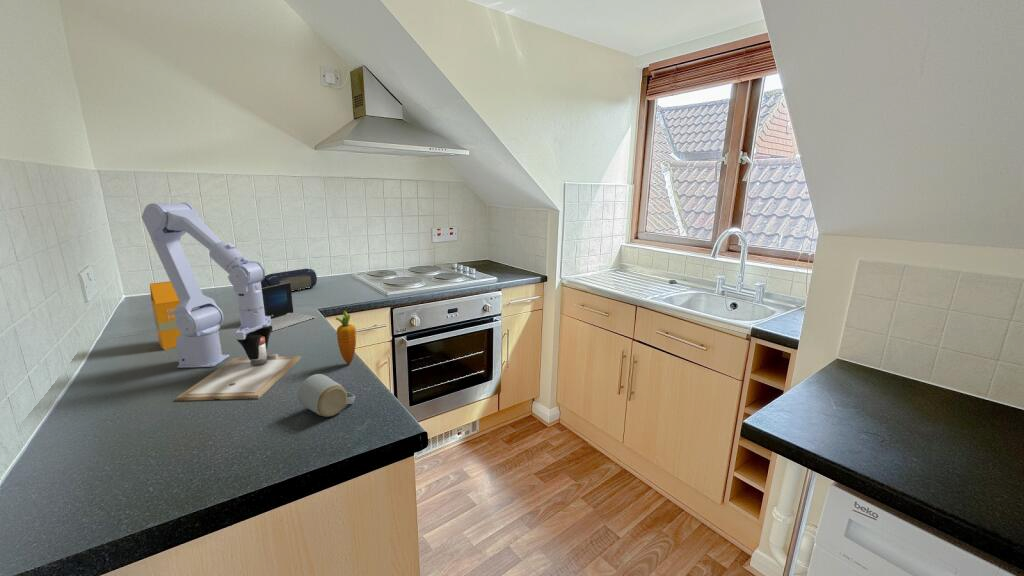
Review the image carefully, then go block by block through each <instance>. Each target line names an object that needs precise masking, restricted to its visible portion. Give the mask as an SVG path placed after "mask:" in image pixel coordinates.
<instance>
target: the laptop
mask: <svg viewBox="0 0 1024 576" xmlns="http://www.w3.org/2000/svg"><path fill="white" fill-rule="evenodd" d="M262 296H263V304H264V311H265V316H270V317H271V323H270V324H271V325H270V326H272V328H273V329H272V331H271V332H276V331H278V329H279V330H282V329H285V328H288V326H289V327H291V326H290V325H292V326H294V325H293V324H295V325H297V324H296V323H298V324H300V323H299V322H301V323H303V322H302V321H304V322H307V321H310V320H309V319H311V320H312V318H314V319H316V318H317V316H313V315H308V314H307V315H306V314H302V313H301V314H302V315H299V316H298V315H297V314H298V313H297V312H294V305H293V298H292V297H293V296H292V292H291V285H290V282H289V283H284V284H280V285H275V286H270V287H265V288H262ZM292 313H295V314H296V315H297V316H298V317H297V316H295V317H294V315H293V316H290V315H289V314H292ZM287 315H288V316H287ZM303 315H304V316H303ZM286 316H287V317H286ZM300 316H301V318H300ZM281 318H282V319H281ZM297 318H298V319H297ZM306 320H307V321H306ZM284 327H285V328H284ZM281 328H282V329H281ZM275 330H276V331H275Z"/></svg>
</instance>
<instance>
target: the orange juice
mask: <svg viewBox="0 0 1024 576" xmlns="http://www.w3.org/2000/svg"><path fill="white" fill-rule="evenodd" d="M149 290H150V301H151V303H150V304H151V307H152V311H153V312H152V313H153V317H154V318H153V319H154V325H155V328H156V334H157V338H158V344H159V346H160V345H161V346H162V347H161V346H160V347H161V349H162V348H163V349H164V350H163V349H162V350H163V351H166V350H165V349H168V350H171V349H170V348H173V349H175V348H174V347H176V340H177V337H178V336H179V335H180V334H181V332H180V331H179V330H178V328H177V326H176V318H175V315H174V313H173V311H174V310H175V308H176V307H177V306H178V304H179V303H180V301H179V299H178V297H177V295H176V292H175V290H174V288H173V286H172V284H171V281H170V280H169V281H162V282H161V281H160V282H154V283H153V282H152V283H150V284H149ZM192 310H194V308H193V309H192ZM192 310H191V311H192Z"/></svg>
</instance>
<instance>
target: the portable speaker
mask: <svg viewBox="0 0 1024 576" xmlns="http://www.w3.org/2000/svg"><path fill="white" fill-rule="evenodd" d="M317 281H318V278H317V273H316V272H315V270H314V269H312V268H302V269H301V268H300V269H293V270H288V271H281V272H274V273H269V274H267V275H266V274H265V277H264V279H263V280H262V281H261V288H265V287H270V286H275V285H280V284H284V283H289V282H290V285H291V291H292V290H298V289H300V288H301V289H303V288H306V287H307V288H308V287H312V288H314V287H315V286H316V284H317ZM313 286H314V287H313Z"/></svg>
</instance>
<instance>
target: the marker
mask: <svg viewBox="0 0 1024 576" xmlns="http://www.w3.org/2000/svg"><path fill="white" fill-rule="evenodd" d="M267 354H268V353H267V352H266V345H265V337H264V336H261V338H260V341H259V357H258V359H257V360H250V362H251V365H262V364H265V363H267V362H268V360H267Z"/></svg>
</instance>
